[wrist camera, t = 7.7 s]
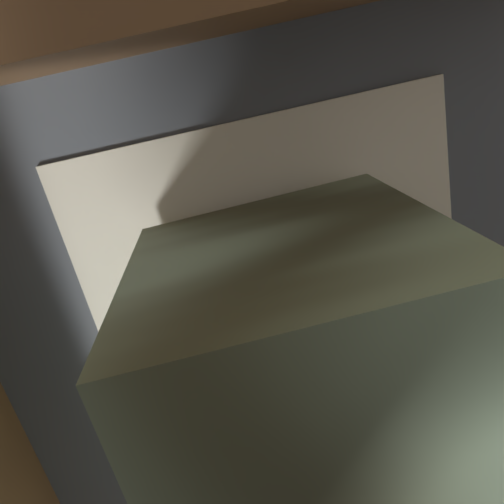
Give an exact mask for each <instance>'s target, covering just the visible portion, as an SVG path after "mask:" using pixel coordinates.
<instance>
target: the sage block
mask: <svg viewBox="0 0 504 504" xmlns="http://www.w3.org/2000/svg"><path fill="white" fill-rule="evenodd" d="M76 388H77V390H78V392H79V395H80V397H81V399H82V402H83V404H84V406H85V408H86V411H87V413H88V415H89V418H90V420H91V422H92V424H93V427H94V429H95V431H96V433H97V436H98V438H99V440H100V443H101V445H102V447H103V449H104V452H105V454H106V456H107V459H108V461H109V463H110V465H111V468H112V470H113V472H114V474H115V477H116V479H117V481H118V484H119V486H120V488H121V490H122V493H123V495H124V497H125V499H126V502H127V504H504V247H503V246H501V245H499V244H497V243H496V242H494V241H492V240H490V239H488V238H486V237H484V236H483V235H481V234H479V233H477V232H475V231H473V230H471V229H469V228H468V227H466V226H464V225H462V224H460V223H458V222H456V221H455V220H453V219H451V218H449V217H447V216H445V215H443V214H441V213H440V212H438V211H436V210H434V209H432V208H430V207H428V206H426V205H425V204H423V203H421V202H419V201H417V200H415V199H413V198H412V197H410V196H408V195H406V194H404V193H402V192H400V191H398V190H397V189H395V188H393V187H391V186H389V185H387V184H385V183H383V182H382V181H380V180H378V179H376V178H374V177H372V176H370V175H369V174H363V175H359V176H355V177H351V178H347V179H343V180H339V181H335V182H330V183H326V184H322V185H318V186H314V187H310V188H306V189H302V190H298V191H294V192H290V193H286V194H282V195H278V196H274V197H270V198H266V199H262V200H258V201H254V202H250V203H246V204H242V205H238V206H234V207H229V208H225V209H221V210H217V211H213V212H209V213H205V214H201V215H197V216H193V217H189V218H185V219H181V220H177V221H173V222H169V223H165V224H161V225H157V226H153V227H149V228H145V229H142V231H141V234H140V236H139V238H138V241H137V243H136V245H135V248H134V250H133V252H132V255H131V257H130V259H129V262H128V264H127V266H126V269H125V271H124V273H123V276H122V278H121V280H120V283H119V285H118V287H117V290H116V292H115V294H114V297H113V299H112V301H111V304H110V306H109V309H108V311H107V313H106V316H105V318H104V320H103V323H102V325H101V327H100V330H99V332H98V334H97V337H96V339H95V341H94V344H93V346H92V348H91V351H90V353H89V355H88V358H87V360H86V362H85V365H84V367H83V369H82V372H81V374H80V376H79V379H78V381H77V383H76Z"/></svg>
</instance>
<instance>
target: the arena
mask: <svg viewBox="0 0 504 504" xmlns="http://www.w3.org/2000/svg"><path fill="white" fill-rule="evenodd" d="M363 174H369V175H370V176H372V177H374V178H376V179H378V180H380V181H382V182H383V183H385V184H387V185H389V186H391V187H393V188H395V189H397V190H398V191H400V192H402V193H404V194H406V195H408V196H410V197H412V198H413V199H415V200H417V201H419V202H421V203H423V204H425V205H426V206H428V207H430V208H432V209H434V210H436V211H438V212H440V213H441V214H443V215H445V216H447V217H449V218H451V219H453V220H455V221H456V222H458V223H460V224H462V225H464V226H466V227H468V228H469V229H471V230H473V231H475V232H477V233H479V234H481V235H483V236H484V237H486V238H488V239H490V240H492V241H494V242H496V243H497V244H499V245H501V246H503V247H504V0H0V504H127V502H126V499H125V497H124V495H123V493H122V490H121V488H120V486H119V484H118V481H117V479H116V477H115V474H114V472H113V470H112V468H111V465H110V463H109V461H108V459H107V456H106V454H105V452H104V449H103V447H102V445H101V443H100V440H99V438H98V436H97V433H96V431H95V429H94V427H93V424H92V422H91V420H90V418H89V415H88V413H87V411H86V408H85V406H84V404H83V402H82V399H81V397H80V395H79V392H78V390H77V388H76V383H77V381H78V379H79V376H80V374H81V372H82V369H83V367H84V365H85V362H86V360H87V358H88V355H89V353H90V351H91V348H92V346H93V344H94V341H95V339H96V337H97V334H98V332H99V330H100V327H101V325H102V323H103V320H104V318H105V316H106V313H107V311H108V309H109V306H110V304H111V301H112V299H113V297H114V294H115V292H116V290H117V287H118V285H119V283H120V280H121V278H122V276H123V273H124V271H125V269H126V266H127V264H128V262H129V259H130V257H131V255H132V252H133V250H134V248H135V245H136V243H137V241H138V238H139V236H140V234H141V231H142V229H145V228H149V227H153V226H157V225H161V224H165V223H169V222H173V221H177V220H181V219H185V218H189V217H193V216H197V215H201V214H205V213H209V212H213V211H217V210H221V209H225V208H229V207H234V206H238V205H242V204H246V203H250V202H254V201H258V200H262V199H266V198H270V197H274V196H278V195H282V194H286V193H290V192H294V191H298V190H302V189H306V188H310V187H314V186H318V185H322V184H326V183H330V182H335V181H339V180H343V179H347V178H351V177H355V176H359V175H363Z"/></svg>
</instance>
